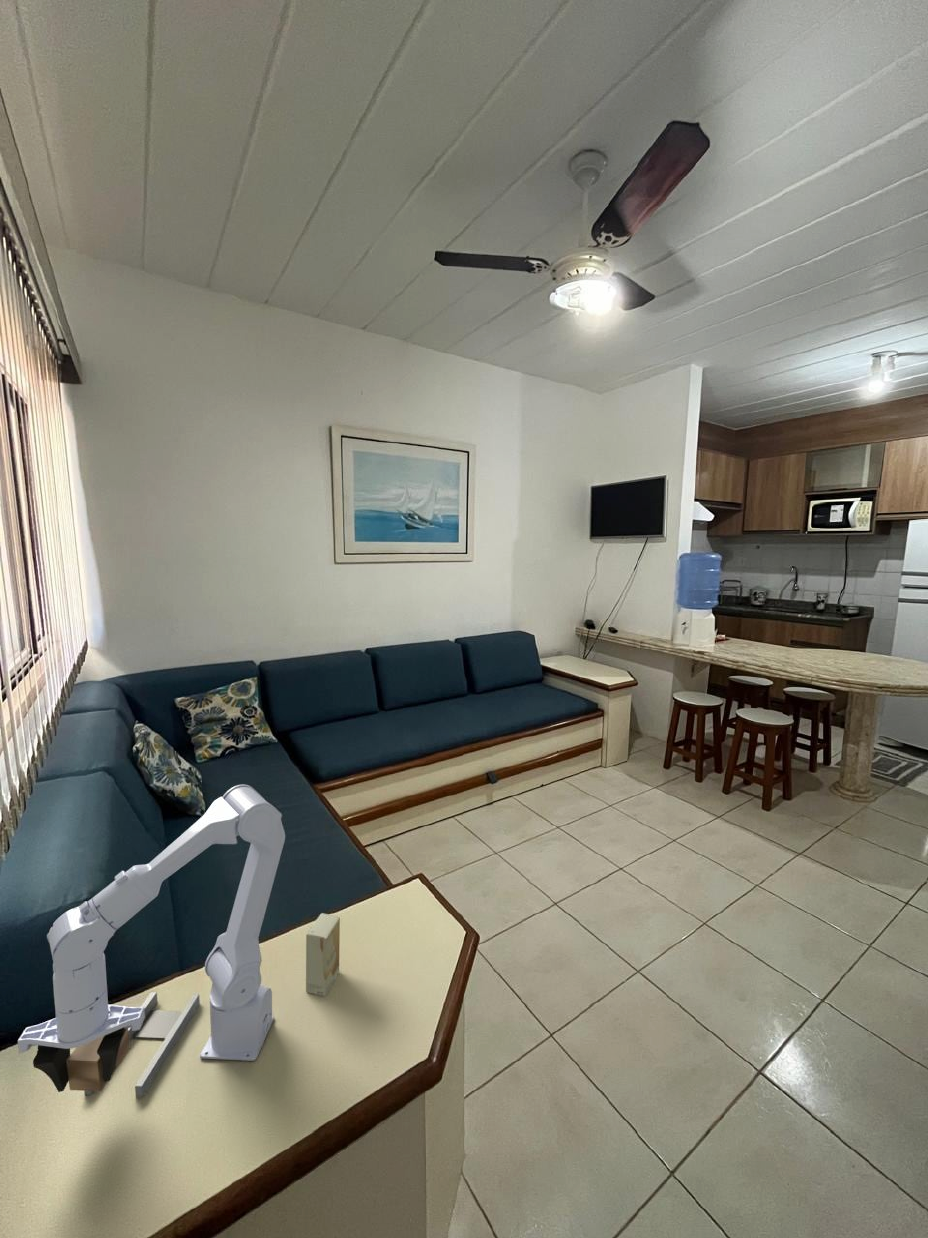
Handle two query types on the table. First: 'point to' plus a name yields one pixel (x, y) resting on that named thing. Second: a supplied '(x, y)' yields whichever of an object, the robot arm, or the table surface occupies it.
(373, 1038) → the table surface
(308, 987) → the skincare box
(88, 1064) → the walnut block
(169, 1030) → the channel
